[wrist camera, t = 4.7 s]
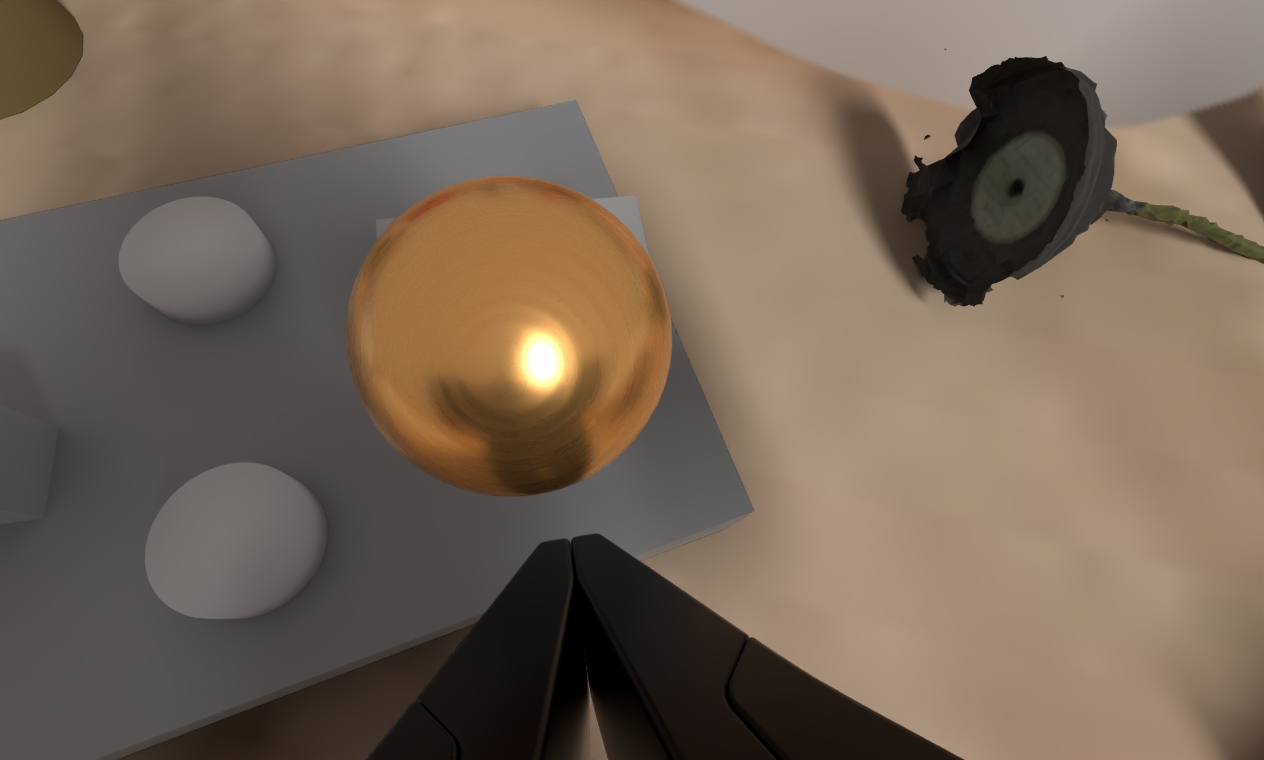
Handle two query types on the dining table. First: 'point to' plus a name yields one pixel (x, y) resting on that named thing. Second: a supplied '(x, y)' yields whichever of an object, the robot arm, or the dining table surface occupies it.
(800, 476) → the dining table surface
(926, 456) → the dining table surface
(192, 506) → the switch panel
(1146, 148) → the dining table surface
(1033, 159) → the artificial flower
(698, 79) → the dining table surface
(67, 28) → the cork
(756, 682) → the robot arm
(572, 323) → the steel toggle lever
